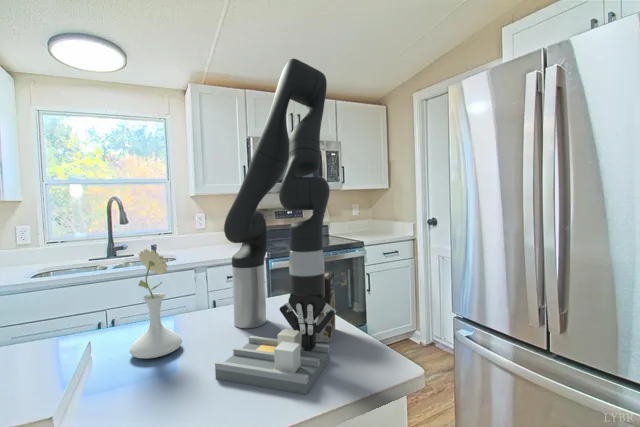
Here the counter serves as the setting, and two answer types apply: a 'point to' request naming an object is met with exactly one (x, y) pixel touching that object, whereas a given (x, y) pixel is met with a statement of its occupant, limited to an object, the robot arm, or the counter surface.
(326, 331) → the coffee box
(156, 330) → the flower in vase
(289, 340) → the cream cube
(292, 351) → the pale grey cube
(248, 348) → the grey ridged tray
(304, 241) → the robot arm
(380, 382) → the counter surface
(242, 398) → the counter surface
